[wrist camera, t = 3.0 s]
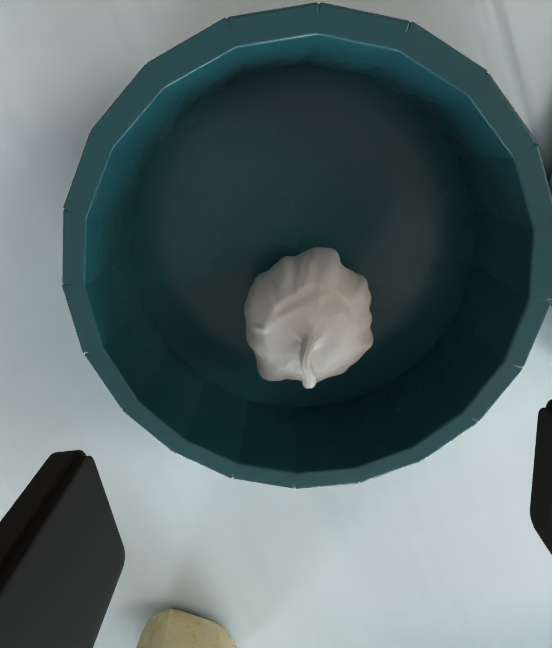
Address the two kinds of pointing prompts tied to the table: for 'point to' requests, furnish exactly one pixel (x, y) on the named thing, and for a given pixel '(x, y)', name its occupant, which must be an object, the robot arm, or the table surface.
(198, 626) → the food model
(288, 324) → the garlic
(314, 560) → the table surface
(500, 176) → the pot
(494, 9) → the table surface
